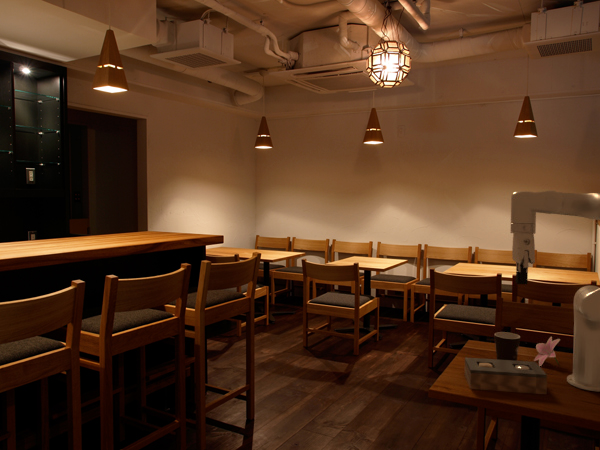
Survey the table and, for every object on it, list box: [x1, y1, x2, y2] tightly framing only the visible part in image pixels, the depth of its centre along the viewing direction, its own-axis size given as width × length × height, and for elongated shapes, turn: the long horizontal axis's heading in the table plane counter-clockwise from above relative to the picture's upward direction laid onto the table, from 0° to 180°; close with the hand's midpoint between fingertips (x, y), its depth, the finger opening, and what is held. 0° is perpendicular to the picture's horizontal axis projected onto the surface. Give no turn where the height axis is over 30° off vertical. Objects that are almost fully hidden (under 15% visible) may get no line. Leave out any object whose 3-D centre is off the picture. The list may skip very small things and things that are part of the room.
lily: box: [533, 336, 561, 367], centre depth 172 cm, size 12×12×10 cm
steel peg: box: [515, 365, 529, 370], centre depth 151 cm, size 4×4×6 cm
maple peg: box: [479, 363, 492, 368], centre depth 153 cm, size 4×4×6 cm
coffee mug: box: [494, 331, 521, 361], centre depth 174 cm, size 12×9×10 cm
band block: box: [464, 357, 548, 395], centre depth 152 cm, size 22×12×6 cm, turn 79°
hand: (521, 283), depth 159 cm, fingers closed
